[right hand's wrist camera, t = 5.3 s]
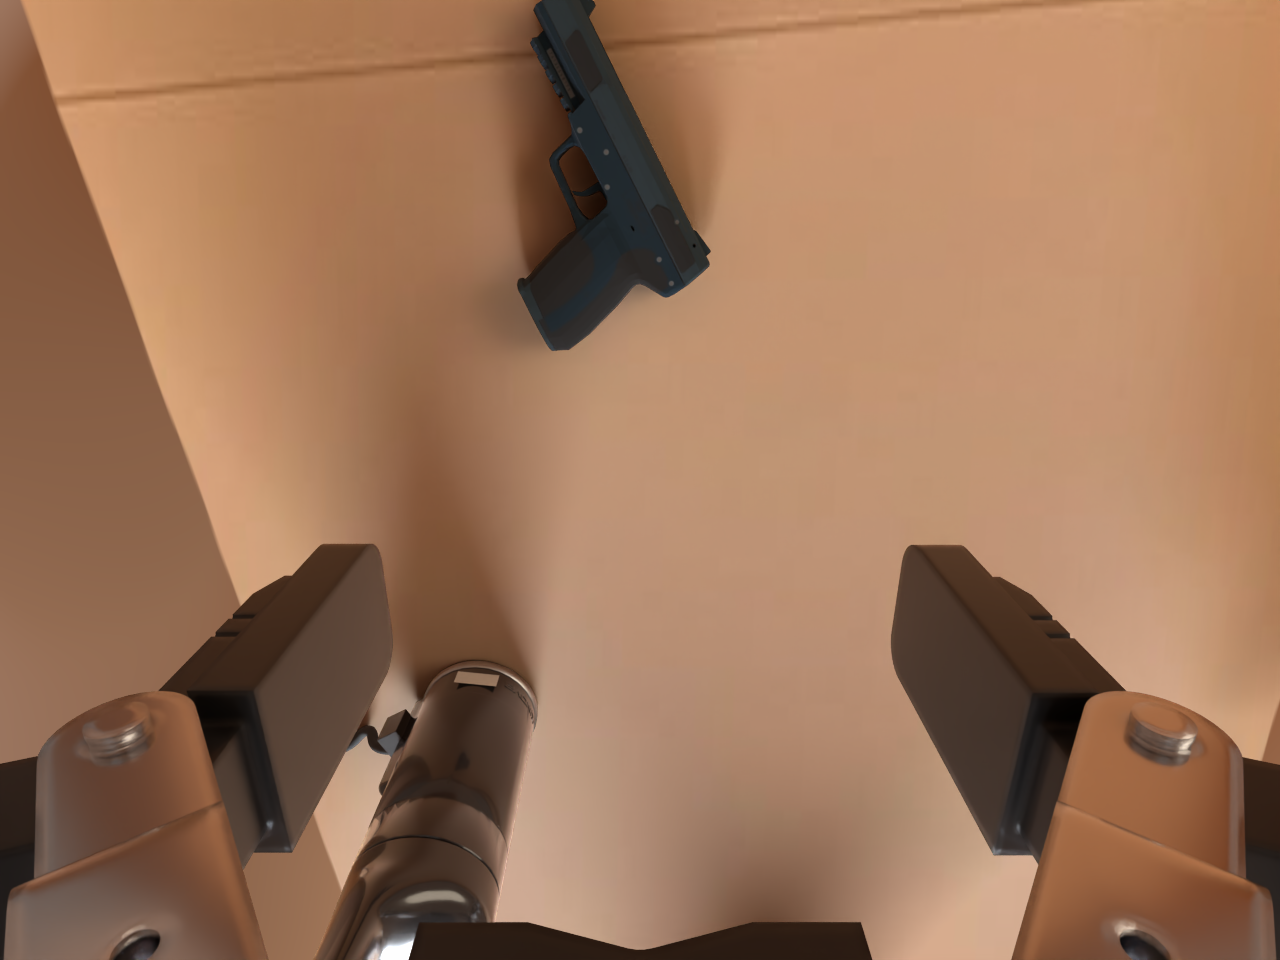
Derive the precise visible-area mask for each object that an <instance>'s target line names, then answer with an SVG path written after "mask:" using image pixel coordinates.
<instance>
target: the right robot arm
mask: <svg viewBox="0 0 1280 960" xmlns="http://www.w3.org/2000/svg"><path fill="white" fill-rule="evenodd" d="M392 648H393V635H392V627H391V620H390V613H389V606H388V599H387V593H386V586H385V579H384V572H383V565H382V559H381V555H380V552H379V550H378V548H377V547H376V546H375V545H374V544H322V545H320V546H319V547H318V548H317V549H316V550H315V551H314V552H313V553H312V555H311V556H310V557H309V558H308V559H307V560H306V561H305V562H304V563H303V564H302V565H301V567H300V568H299V569H298V570H297V571H296V572H295V573H294V574H293V575H292V576H283V577H282V578H280V579H278V580H276V581H275V582H273V583H271V584H269V585H268V586H266V587H264V588H262V589H261V590H259V591H257V592H255V593H253V594H252V595H251V596H250V597H249V599H248V600H247V601H246V602H245V603H244V604H243V605H242V606H241V607H240V608H239V609H238V610H237V611H236V612H235V613H234V614H233V618H232V619H228V620H227V621H226V622H225V623H224V624H223V625H222V626H221V627H220V628H219V629H218V630H217V631H216V636H215V637H211V638H210V639H209V640H208V641H207V642H206V643H205V644H204V645H203V646H202V647H201V648H200V649H199V650H198V651H197V652H196V653H195V654H194V655H193V656H192V657H191V658H190V659H189V660H188V661H187V662H186V663H185V664H184V665H183V666H182V667H181V668H180V669H179V670H178V671H177V672H176V673H175V674H174V675H173V676H172V677H171V678H170V680H168V682H167V683H166V684H165V685H164V686H163V687H162V688H161V689H160V690H159V691H152V692H144V693H138V694H133V695H128V696H125V697H121V698H118V699H115V700H112V701H109V702H106V703H104V704H101V705H99V706H97V707H95V708H92V709H90V710H88V711H86V712H84V713H83V714H81V715H79V716H77V717H76V718H74V719H72V720H71V721H69V722H68V723H66V724H65V725H64V726H62V727H61V728H60V729H59V730H57V731H56V732H55V733H54V734H53V735H52V736H51V737H50V738H49V739H48V740H47V742H46V743H45V744H44V745H43V747H42V749H41V750H40V752H39V754H38V756H36V757H32V758H27V759H22V760H17V761H12V762H7V763H2V764H0V960H269V959H268V956H267V952H266V949H265V945H264V942H263V938H262V935H261V931H260V928H259V924H258V921H257V917H256V914H255V910H254V907H253V903H252V900H251V896H250V893H249V890H248V886H247V882H246V879H245V875H244V872H243V869H244V868H245V866H246V864H247V862H248V861H249V859H250V857H251V856H252V854H253V853H254V852H255V853H257V852H259V853H260V852H264V853H265V852H266V853H267V852H268V853H270V852H271V853H275V852H276V853H277V852H279V853H281V852H282V853H285V852H289V853H291V852H293V850H294V848H295V846H296V844H297V842H298V840H299V838H300V837H301V835H302V833H303V831H304V829H305V827H306V825H307V823H308V821H309V820H310V818H311V816H312V814H313V812H314V810H315V808H316V806H317V805H318V803H319V801H320V799H321V797H322V795H323V793H324V791H325V789H326V788H327V786H328V784H329V782H330V780H331V778H332V776H333V774H334V773H335V771H336V769H337V767H338V765H339V763H340V761H341V759H342V757H343V756H344V754H345V752H346V751H349V750H350V749H352V748H354V747H355V746H356V745H357V744H358V743H359V742H360V741H361V740H362V739H363V738H364V737H365V736H367V738H368V743H369V746H370V747H371V749H372V750H374V751H375V752H377V753H380V754H386V755H390V756H391V760H390V762H389V764H388V766H387V769H386V771H385V773H384V775H383V778H382V780H381V782H380V785H379V792H380V794H381V795H382V798H381V800H380V802H379V805H378V807H377V809H376V812H375V814H374V816H373V819H372V821H371V823H370V826H369V828H368V831H367V833H366V835H365V838H364V840H363V842H362V845H361V847H360V849H359V852H358V854H357V856H356V859H355V861H354V863H353V866H352V868H351V870H350V873H349V875H348V877H347V880H346V882H345V885H344V887H343V890H342V892H341V895H340V897H339V900H338V902H337V905H336V907H335V910H334V912H333V915H332V917H331V920H330V922H329V925H328V927H327V929H326V932H325V934H324V936H323V939H322V941H321V943H320V945H319V948H318V950H317V952H316V955H315V956H314V959H313V960H872V957H871V954H870V951H869V948H868V944H867V941H866V938H865V934H864V931H863V928H862V925H861V922H752V923H748V924H744V925H740V926H737V927H733V928H729V929H725V930H721V931H717V932H713V933H710V934H706V935H702V936H698V937H694V938H690V939H687V940H683V941H679V942H675V943H671V944H667V945H664V946H660V947H656V948H652V949H646V950H634V949H628V948H624V947H620V946H616V945H613V944H609V943H605V942H601V941H597V940H593V939H590V938H586V937H582V936H578V935H574V934H570V933H567V932H563V931H559V930H555V929H551V928H547V927H543V926H540V925H536V924H532V923H528V922H495V920H496V915H497V910H498V904H499V900H500V895H501V890H502V885H503V880H504V875H505V870H506V865H507V859H508V854H509V849H510V844H511V839H512V834H513V829H514V824H515V819H516V814H517V809H518V804H519V799H520V794H521V789H522V784H523V779H524V774H525V769H526V764H527V759H528V754H529V749H530V744H531V739H532V734H533V731H534V729H535V725H536V721H537V715H538V706H537V701H536V698H535V695H534V693H533V691H532V689H531V688H530V686H529V685H528V684H527V682H526V681H525V680H524V679H523V678H522V677H521V676H519V675H518V674H517V673H515V672H514V671H512V670H510V669H509V668H506V667H504V666H502V665H499V664H496V663H492V662H487V661H467V662H461V663H458V664H455V665H452V666H450V667H448V668H446V669H444V670H443V671H441V672H440V673H439V674H438V675H436V677H435V678H434V679H433V680H432V681H431V683H430V684H429V686H428V688H427V690H426V693H425V695H424V698H423V699H421V700H419V701H417V702H416V703H415V706H414V708H413V710H412V712H411V715H410V714H409V712H408V711H407V710H406V709H405V710H403V711H401V712H399V713H397V714H395V715H393V716H391V717H388V718H387V720H386V722H385V724H384V727H383V729H382V731H381V733H380V735H379V737H378V733H377V731H376V729H375V728H374V727H373V726H364V727H362V728H360V729H359V730H358V731H357V729H358V727H359V725H360V724H361V722H362V720H363V718H364V716H365V714H366V712H367V710H368V709H369V707H370V705H371V703H372V701H373V699H374V697H375V695H376V693H377V692H378V690H379V688H380V686H381V684H382V682H383V680H384V678H385V677H386V674H387V672H388V669H389V666H390V662H391V657H392ZM891 652H892V659H893V664H894V668H895V671H896V674H897V676H898V678H899V680H900V682H901V684H902V686H903V687H904V689H905V691H906V693H907V695H908V697H909V699H910V700H911V702H912V704H913V706H914V708H915V710H916V712H917V713H918V715H919V717H920V719H921V721H922V723H923V725H924V726H925V728H926V730H927V732H928V734H929V736H930V738H931V740H932V741H933V743H934V745H935V747H936V749H937V751H938V753H939V754H940V756H941V758H942V760H943V762H944V764H945V766H946V767H947V769H948V771H949V773H950V775H951V777H952V779H953V780H954V782H955V784H956V786H957V788H958V790H959V792H960V793H961V795H962V797H963V799H964V801H965V803H966V805H967V806H968V808H969V810H970V812H971V814H972V816H973V818H974V820H975V821H976V823H977V825H978V827H979V829H980V831H981V833H982V834H983V836H984V838H985V840H986V842H987V844H988V846H989V847H990V849H991V851H992V853H993V855H1033V856H1034V858H1035V860H1036V861H1037V863H1038V869H1037V872H1036V875H1035V879H1034V882H1033V886H1032V889H1031V893H1030V896H1029V900H1028V903H1027V907H1026V910H1025V914H1024V917H1023V921H1022V924H1021V928H1020V931H1019V935H1018V938H1017V942H1016V945H1015V949H1014V952H1013V956H1012V959H1011V960H1280V765H1277V764H1272V763H1268V762H1263V761H1258V760H1253V759H1248V758H1244V757H1242V754H1241V752H1240V750H1239V748H1238V747H1237V745H1236V744H1235V743H1234V742H1233V740H1232V739H1231V738H1230V737H1229V736H1228V735H1227V734H1226V733H1225V732H1224V731H1223V730H1221V729H1220V728H1219V727H1218V726H1216V725H1215V724H1214V723H1212V722H1211V721H1209V720H1208V719H1206V718H1204V717H1203V716H1201V715H1199V714H1197V713H1196V712H1194V711H1192V710H1190V709H1188V708H1185V707H1183V706H1181V705H1179V704H1176V703H1174V702H1171V701H1168V700H1165V699H1162V698H1159V697H1155V696H1152V695H1147V694H1142V693H1136V692H1128V691H1126V690H1125V689H1124V688H1123V687H1122V686H1121V685H1120V684H1119V683H1118V682H1117V681H1116V680H1115V679H1114V678H1113V677H1112V676H1111V675H1110V674H1109V673H1108V672H1107V671H1106V670H1105V669H1104V668H1103V667H1102V666H1101V665H1100V664H1099V663H1098V662H1097V661H1096V660H1095V659H1094V658H1093V657H1092V656H1091V655H1090V654H1089V653H1088V652H1087V651H1086V650H1085V649H1084V648H1083V647H1082V646H1081V645H1080V644H1079V643H1078V642H1077V641H1076V640H1075V639H1074V638H1070V633H1069V632H1068V631H1067V630H1066V629H1065V628H1064V627H1063V626H1062V625H1061V624H1060V623H1059V622H1058V621H1057V620H1053V619H1052V615H1051V614H1050V613H1049V612H1048V611H1047V610H1046V609H1045V608H1044V607H1043V606H1042V605H1041V604H1040V603H1039V602H1038V601H1037V600H1036V599H1035V598H1034V597H1033V596H1032V595H1031V594H1029V593H1027V592H1025V591H1024V590H1022V589H1020V588H1018V587H1017V586H1015V585H1013V584H1011V583H1010V582H1008V581H1006V580H1004V579H1002V578H1001V577H992V576H991V575H990V573H989V572H988V571H987V570H986V569H985V568H984V567H983V566H982V565H981V564H980V563H979V562H978V561H977V559H976V558H975V557H974V556H973V555H972V554H971V553H970V552H969V551H968V550H967V549H966V548H965V547H964V546H962V545H910V546H909V547H908V548H907V549H906V551H905V553H904V556H903V560H902V566H901V573H900V580H899V586H898V593H897V600H896V606H895V613H894V620H893V627H892V634H891ZM356 731H357V732H356Z"/></svg>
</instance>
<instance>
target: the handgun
mask: <svg viewBox="0 0 1280 960" xmlns="http://www.w3.org/2000/svg"><path fill="white" fill-rule="evenodd" d="M594 8H595V3H594V1H593V0H542V1H540V2H539V3H537V4H536V6H535V8H534V12H535V14H536V16H537V18H538V20H539V22H540V24H541V26H542V28H543V32H542V33H541V34H540V35H539V36H538V37H535V38H532V40H531V42H530V44H531V46H532V48H533V49H534V51H535V52H536V54H537V55H538V59H539V61H540V63H541V65H542V66H543V67H544V69H545V70H546V71H545V73H546V75H547V77H548V78H549V80H550V81H551V83H552V84H554V83H555V84H554V85H553V88H554V90H555V92H556V93H557V95H558V96H559V97H563V96H564V97H563V98H562V99H561V100H560V102H561V104H562V105H563V107H564V109H565V110H566V111H570V110H571V112H570V113H568V118H569V121H570V123H571V128H572V133H571V136H570V137H569V138H568V139H567V140H566V141H565V142H564V143H563V144H562V145H560V146H559V147H558V148H557V149H556V150H555V151H554V152H553V153H552V155H551V157H550V159H549V161H550V166H551V169H552V171H553V173H554V175H555V177H556V180H557V182H558V184H559V186H560V188H561V191H562V193H563V195H564V197H565V199H566V202H567V204H568V206H569V208H570V211H571V214H572V217H573V219H574V222H575V225H576V230H575V231H573V232H571V233H569V234H568V235H567V236H566V237H565V238H564V239H562V240H561V241H560V242H559V243H558V244H557V245H556V247H555V248H554V249H553V250H552V251H551V252H550V253H549V254H548V255H547V256H546V257H545V258H544V259H543V261H542V262H541V263H540V264H539V265H538V266H537V267H536V268H535V269H534V271H533V272H532V273H531V274H530V275H529V276H528V277H527V278H526V279H525V278H520V279H519V280H518V283H517V287H518V290H519V292H520V294H521V296H522V298H523V300H524V302H525V304H526V306H527V308H528V310H529V312H530V314H531V316H532V318H533V320H534V322H535V324H536V326H537V328H538V330H539V331H540V333H541V335H542V337H543V339H544V340H545V342H546V344H547V345H548V347H549V348H550V349H551V350H552V351H557V350H569V349H571V348H572V347H573V346H575V345H576V344H577V343H579V342H580V341H581V340H582V339H584V338H585V337H586V336H588V335H589V334H590V333H591V332H592V331H593V330H594V329H595V328H596V327H597V326H598V325H599V324H600V323H601V322H602V321H603V320H604V319H605V318H606V317H607V316H608V315H609V314H610V313H611V312H612V311H613V310H614V309H615V308H616V307H617V306H618V304H619V303H620V302H621V301H622V300H623V299H624V297H625V296H626V295H627V294H628V293H629V291H630V290H631V289H632V288H633V287H634V286H635V285H638V284H642V285H644V286H646V287H648V288H650V289H651V290H653V291H655V292H656V293H658V294H659V295H661V296H663V297H670V296H672V295H674V294H675V293H677V292H678V291H680V290H681V289H683V288H684V287H685V286H687V285H688V284H690V283H691V282H692V281H693V280H694V279H695V278H697V277H698V276H699V275H700V274H701V273H702V272H703V271H705V270H706V269H707V268H708V267H709V261H708V259H707V257H706V256H707V255H708V254H709V253H710V252H711V251H710V249H709V248H708V247H707V245H706V244H705V242H704V241H703V240H702V238H701V237H700V236H699V234H698V233H697V231H695V230H693V228H692V226H691V224H690V222H689V220H688V218H687V216H686V214H685V212H684V210H683V208H682V206H681V204H680V202H679V200H678V198H677V196H676V194H675V192H674V190H673V188H672V186H671V184H670V182H669V180H668V178H667V176H666V173H665V171H664V169H663V167H662V165H661V163H660V161H659V159H658V157H657V155H656V153H655V151H654V149H653V147H652V145H651V143H650V141H649V139H648V137H647V135H646V133H645V131H644V128H643V126H642V124H641V122H640V120H639V118H638V116H637V114H636V112H635V110H634V108H633V106H632V104H631V102H630V100H629V98H628V96H627V94H626V92H625V90H624V88H623V86H622V84H621V82H620V80H619V78H618V76H617V74H616V72H615V70H614V68H613V66H612V64H611V62H610V60H609V58H608V56H607V54H606V52H605V50H604V47H603V45H602V43H601V41H600V39H599V37H598V35H597V33H596V31H595V29H594V27H593V25H592V23H591V21H590V19H589V16H590V14H591V13H592V11H593V9H594ZM573 146H577V147H579V148H581V149H582V150H583V152H584V153H585V155H586V157H587V159H588V161H589V163H590V165H591V167H592V169H593V171H594V173H595V174H596V176H597V178H598V180H599V182H600V183H599V182H597V183H596V184H594V185H593V186H591V187H590V188H588V189H587V190H585V191H583V192H575V191H572V192H573V194H574V195H577V196H590V195H592V194H594V193H596V192H598V191H601V192H602V193H603V195H604V197H605V199H606V200H607V204H606V207H605V208H604V209H603V210H602V211H601V212H600V213H599V214H598V215H596V216H595V217H594V218H593V219H588V218H587V217H586V216H585V215H583V213H582V212H581V211H580V209H579V208H578V206H577V204H576V202H575V199H574V197H573V195H572V193H571V190H570V188H569V186H568V184H567V182H566V179H565V177H564V175H563V173H562V170H561V168H560V166H559V160H560V158H561V157H562V155H563V154H565V153H566V152H567V151H568V150H569V149H570V148H572V147H573Z"/></svg>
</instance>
